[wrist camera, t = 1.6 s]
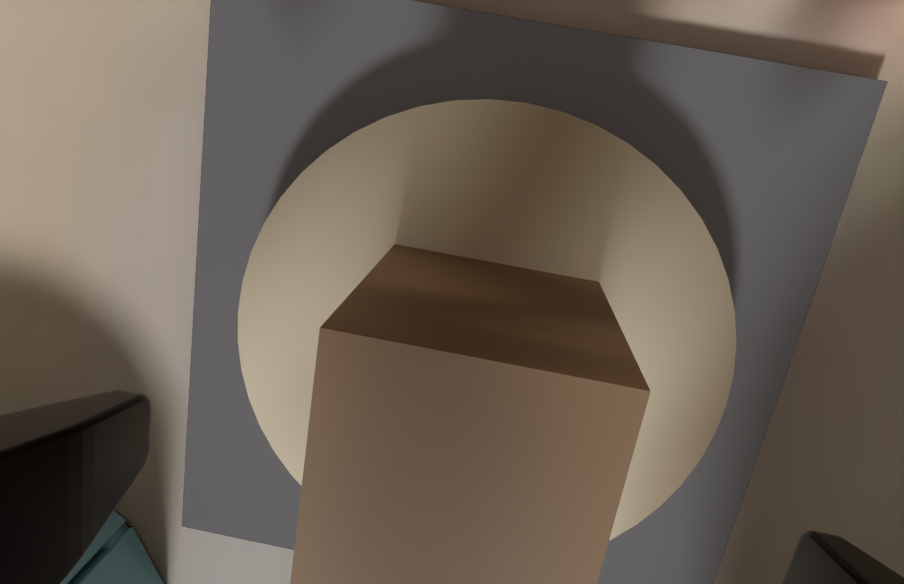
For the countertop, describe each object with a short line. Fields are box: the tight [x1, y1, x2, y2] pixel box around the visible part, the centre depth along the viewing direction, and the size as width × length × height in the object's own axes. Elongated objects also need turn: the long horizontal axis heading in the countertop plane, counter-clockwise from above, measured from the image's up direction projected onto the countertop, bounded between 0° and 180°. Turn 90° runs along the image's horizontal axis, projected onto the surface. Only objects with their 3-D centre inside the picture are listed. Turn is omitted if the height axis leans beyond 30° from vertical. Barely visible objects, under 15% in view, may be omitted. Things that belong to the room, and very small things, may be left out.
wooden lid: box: [238, 99, 737, 584], centre depth 11 cm, size 10×10×6 cm
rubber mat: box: [182, 0, 888, 584], centre depth 14 cm, size 13×13×1 cm
